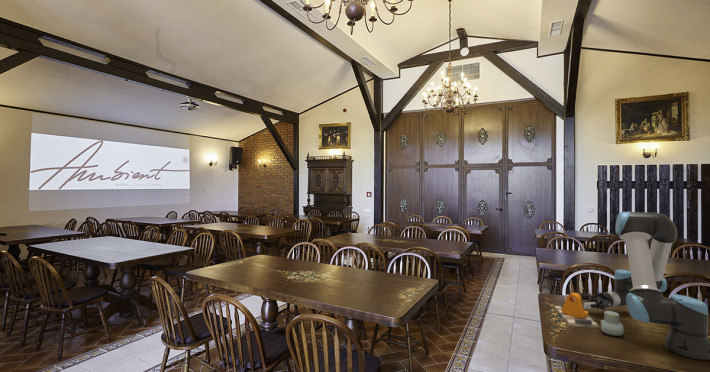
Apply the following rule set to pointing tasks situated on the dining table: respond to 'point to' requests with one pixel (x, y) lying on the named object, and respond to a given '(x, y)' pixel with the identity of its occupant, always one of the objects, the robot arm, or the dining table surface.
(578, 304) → the bracket
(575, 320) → the rail board
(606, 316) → the air freshener
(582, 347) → the dining table surface
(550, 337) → the dining table surface
